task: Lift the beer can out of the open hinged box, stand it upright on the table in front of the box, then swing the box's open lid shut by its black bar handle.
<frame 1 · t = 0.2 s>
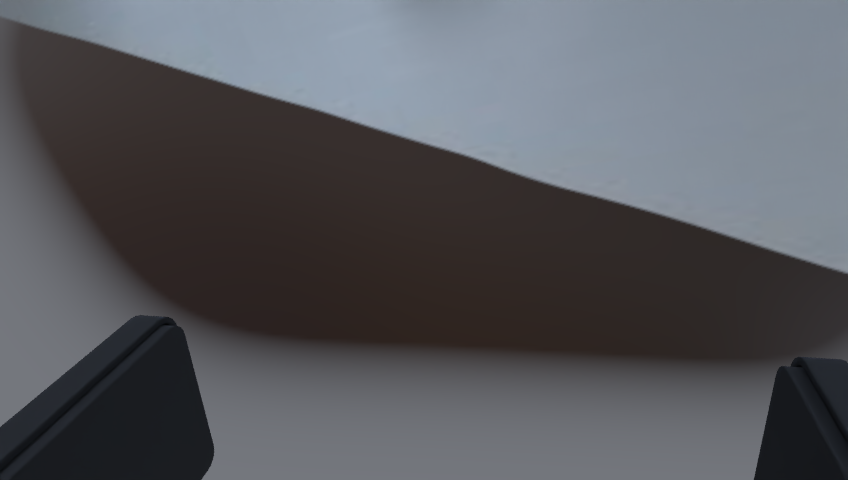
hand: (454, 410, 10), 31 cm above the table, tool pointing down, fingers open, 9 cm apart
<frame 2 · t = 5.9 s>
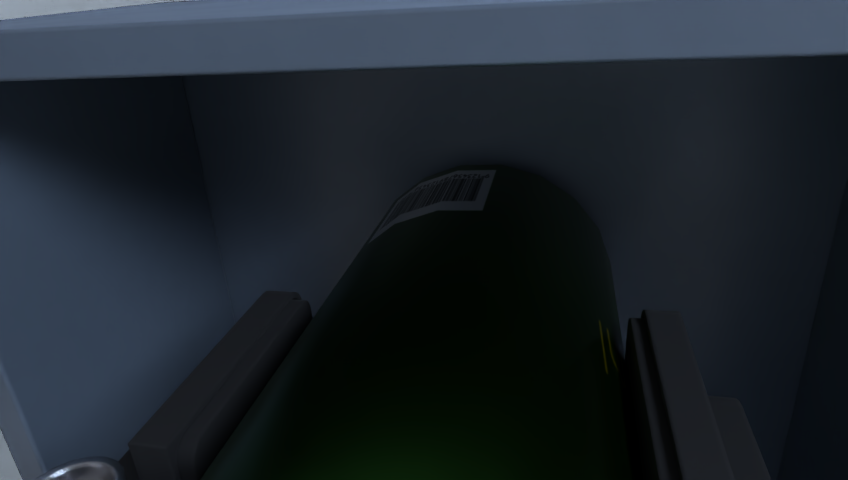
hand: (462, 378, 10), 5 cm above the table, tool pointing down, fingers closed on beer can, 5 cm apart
open hinged box: (494, 306, 15), on the table
beer can: (490, 260, 15), resting on open hinged box, touching gripper
when the fingers open (4 cm above the table, at t = 13.4 s): beer can stays where it is, on the table.
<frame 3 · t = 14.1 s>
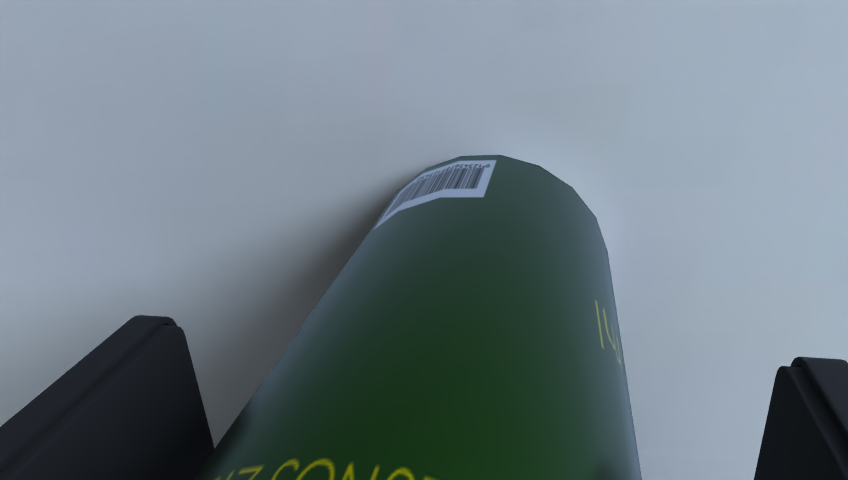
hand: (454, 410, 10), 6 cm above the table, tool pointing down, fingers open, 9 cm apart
beer can: (491, 249, 15), on the table
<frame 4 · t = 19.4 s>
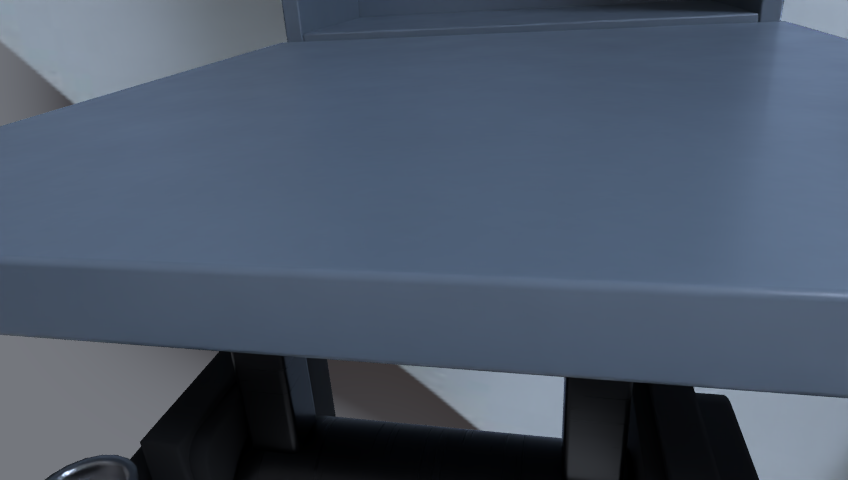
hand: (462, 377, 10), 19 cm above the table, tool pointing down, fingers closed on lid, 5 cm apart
lid: (482, 211, 13), point 16 cm above the table, hinge at 90.0°, touching gripper
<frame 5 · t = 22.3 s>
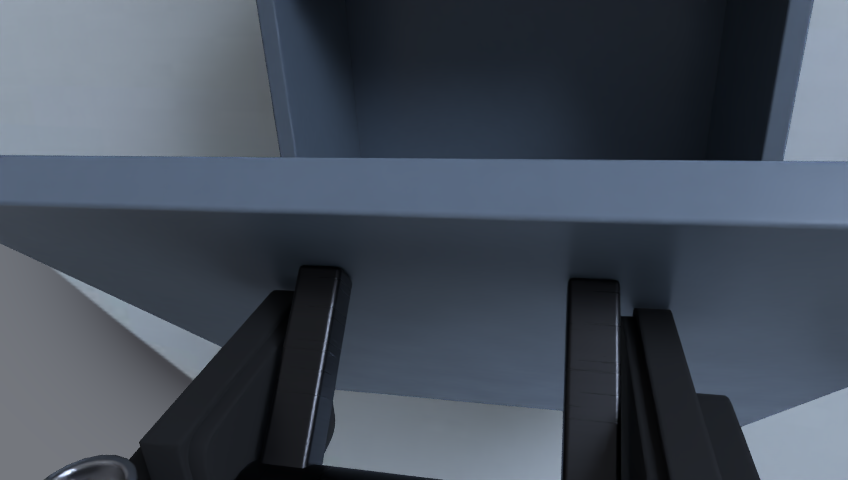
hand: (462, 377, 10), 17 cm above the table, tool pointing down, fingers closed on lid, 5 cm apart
open hinged box: (524, 131, 25), on the table
lid: (481, 443, 14), point 15 cm above the table, hinge at 43.1°, touching gripper
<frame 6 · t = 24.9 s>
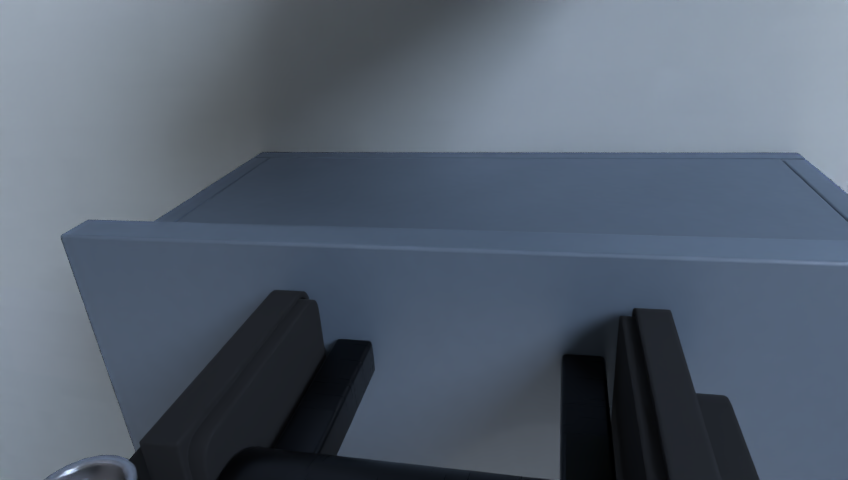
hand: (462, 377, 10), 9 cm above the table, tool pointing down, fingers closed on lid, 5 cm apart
open hinged box: (506, 370, 21), on the table
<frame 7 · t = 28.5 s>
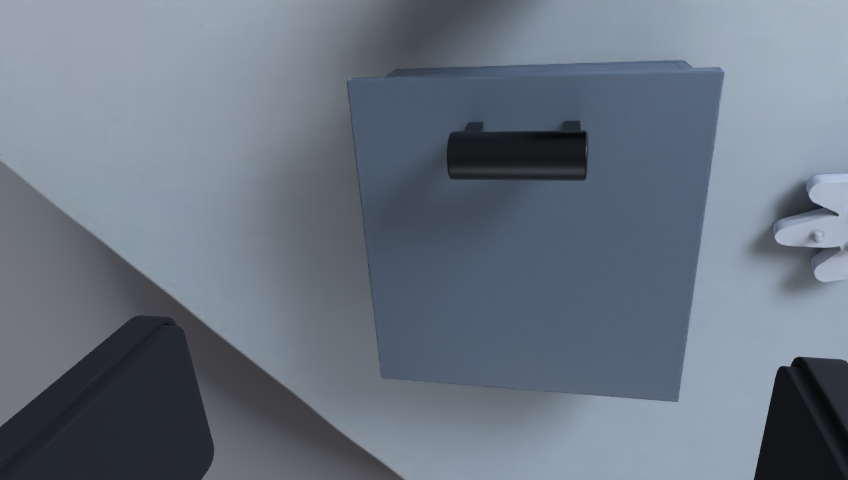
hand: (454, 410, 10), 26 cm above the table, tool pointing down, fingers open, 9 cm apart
open hinged box: (531, 198, 36), on the table
lid: (519, 271, 27), point 10 cm above the table, hinge at 1.1°
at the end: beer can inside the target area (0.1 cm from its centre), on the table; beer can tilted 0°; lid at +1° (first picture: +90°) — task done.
